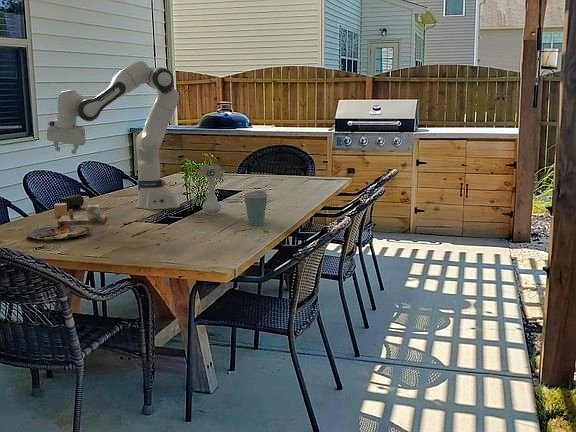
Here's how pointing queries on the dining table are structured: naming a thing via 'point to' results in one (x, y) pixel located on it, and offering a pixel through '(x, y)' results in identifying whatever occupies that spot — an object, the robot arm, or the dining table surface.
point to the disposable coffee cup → (256, 207)
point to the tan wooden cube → (60, 209)
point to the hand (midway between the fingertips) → (65, 152)
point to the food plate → (58, 232)
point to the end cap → (73, 201)
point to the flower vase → (211, 187)
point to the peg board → (84, 217)
